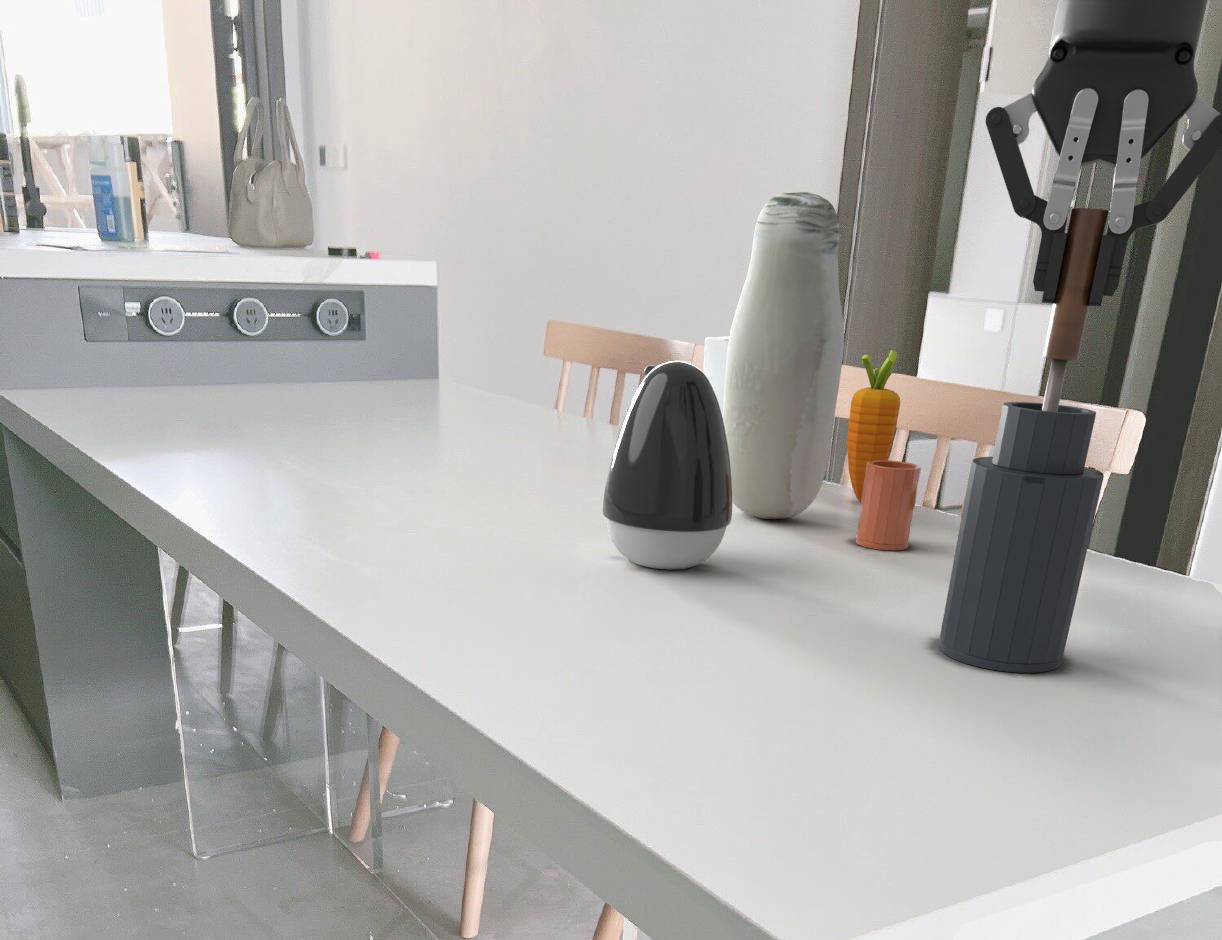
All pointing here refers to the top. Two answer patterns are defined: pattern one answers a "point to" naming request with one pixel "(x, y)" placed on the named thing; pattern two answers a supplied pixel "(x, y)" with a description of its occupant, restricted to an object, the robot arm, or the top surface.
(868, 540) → the cup
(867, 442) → the carrot
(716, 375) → the cosmetic box
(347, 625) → the top surface
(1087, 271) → the bottle brush
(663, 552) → the dark egg shaped ornament
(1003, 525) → the steel bottle
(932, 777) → the top surface
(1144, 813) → the top surface
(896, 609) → the top surface
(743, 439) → the pale grey bottle
